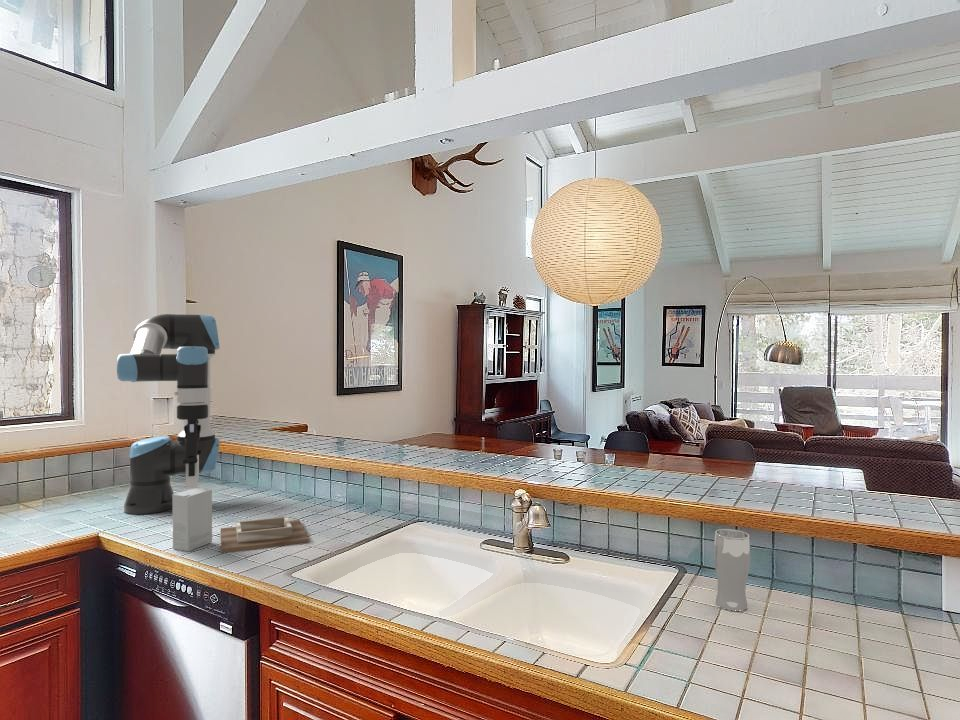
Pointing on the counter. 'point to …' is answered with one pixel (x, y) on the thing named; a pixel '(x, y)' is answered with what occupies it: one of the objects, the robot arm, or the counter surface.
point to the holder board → (262, 534)
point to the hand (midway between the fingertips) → (192, 483)
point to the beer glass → (731, 568)
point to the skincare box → (192, 519)
